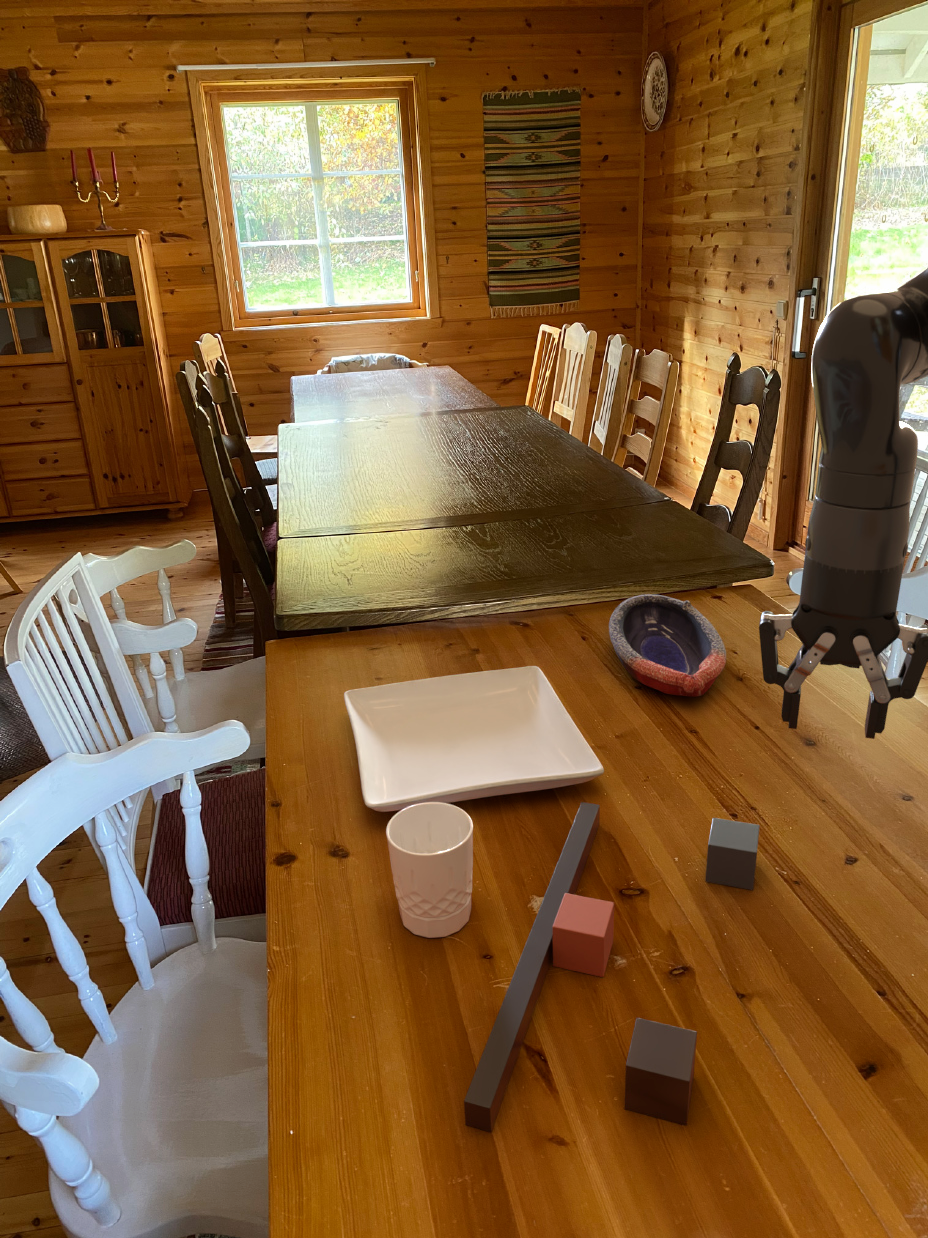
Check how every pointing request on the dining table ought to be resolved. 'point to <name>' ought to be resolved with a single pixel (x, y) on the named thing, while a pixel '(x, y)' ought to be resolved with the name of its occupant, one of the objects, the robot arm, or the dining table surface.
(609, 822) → the dining table surface
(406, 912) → the white cup
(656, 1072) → the walnut block
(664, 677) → the dish
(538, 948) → the rail
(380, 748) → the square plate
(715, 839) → the slate block
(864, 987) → the dining table surface
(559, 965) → the terracotta block
